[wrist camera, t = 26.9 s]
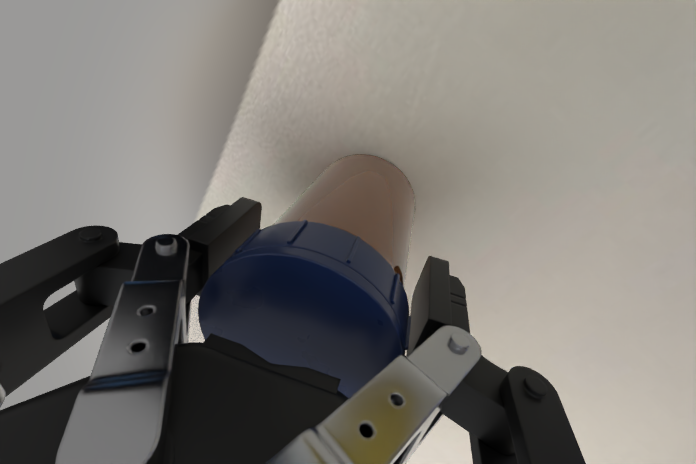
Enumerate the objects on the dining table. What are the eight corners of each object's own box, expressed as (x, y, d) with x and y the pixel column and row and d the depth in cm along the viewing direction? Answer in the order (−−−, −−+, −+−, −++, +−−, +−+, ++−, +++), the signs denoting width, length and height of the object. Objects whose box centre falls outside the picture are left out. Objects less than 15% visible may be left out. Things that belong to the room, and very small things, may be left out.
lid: (201, 237, 11) (160, 269, 9) (381, 202, 9) (368, 236, 7) (272, 370, 13) (249, 414, 12) (426, 366, 11) (424, 419, 10)
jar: (362, 130, 17) (289, 209, 8) (437, 209, 18) (438, 350, 9) (295, 200, 19) (189, 311, 11) (363, 265, 20) (313, 412, 12)
